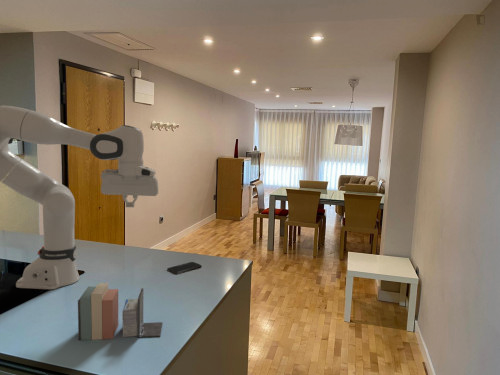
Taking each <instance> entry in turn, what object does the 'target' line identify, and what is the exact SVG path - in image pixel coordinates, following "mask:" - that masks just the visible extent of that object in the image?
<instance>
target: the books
mask: <svg viewBox="0 0 500 375" xmlns="http://www.w3.org/2000/svg"><path fill="white" fill-rule="evenodd" d="M79 299H80V317H81V340H80V341H93V340H94V341H96V340H113V339H114V337H115V334H116V332H117V329H118V327H119V288H110V289H109V283H108V282H106V283H105V282H104V283H103V282H101V283H99V282H98V283H97V284H96V286H95V285H94V286H87V287H86V289H85V290H84V291H83V293H82V295H81V296H80V297H79Z"/></svg>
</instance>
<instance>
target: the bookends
mask: <svg viewBox="0 0 500 375" xmlns="http://www.w3.org/2000/svg"><path fill="white" fill-rule="evenodd" d="M137 299H138V336H137V338H158V337H159V338H160V337H161V334H162V328H163V322H162V321H161V322H160V321H159V322H157V321H156V322H144V288H141V289H140V292H139V295H138V297H137ZM77 322H78V324H77V327H78V328H77V332H78V341H82V340H81V317H80V298H79V299H78V300H77Z"/></svg>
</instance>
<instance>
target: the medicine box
mask: <svg viewBox="0 0 500 375" xmlns="http://www.w3.org/2000/svg"><path fill="white" fill-rule="evenodd" d="M121 312H122V314H121V316H122V337H123V338H129V337H138V298H128V299H125V301H124V306H123V309H122V311H121Z"/></svg>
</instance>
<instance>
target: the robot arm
mask: <svg viewBox="0 0 500 375" xmlns="http://www.w3.org/2000/svg"><path fill="white" fill-rule="evenodd" d="M15 139H16V140H19V141H22V142H25V143H26V142H27V143H31V144H36V145H47V146H50V145H69V146H74V147H78V148H81V149H85V150H88V151H89V150H90V152H91V154H92V155H93V156H94V157H95V158H96V159H99V160H102V161H115V160H117V162H118V163H117V168H116V169H113V168H112V169H110V168H109V169H108V168H106V169H104V170H102V171H101V173H100V179H101V185H100V192H101V194H102V195H111V196H112V195H115V196H117V195H118V196H122V200H123V202H124V203H125V208H135V202H136V201H137V199H138V198H139V196H141V197H143V196H144V197H156V196H157V195H158V194H159V183H158V178H157V177H156V176H155V175H156V170H155V169H154V168H153V169H152V168H149V167H147V166H145V165H144V159H143V154H144V149H145V147H144V146H145V144H144V135H143V132H142V130H141V129H140V128H138V127H135V126H131V125H126V124H121V125H120V126H119V127H117V128H115V129H113V130H110V131H106V132H103V133H99V134H94V133H91V132H87V131H84V130H80V129H77V128H73V127H71V126H69V125H66V124H64V123H63V122H61V121H59V120H57V119H55V118H53V117H51V116H48V115H46V114H44V113H42V112H39V111H36V110H32V109H28V108H25V107H24V108H23V107H19V106H13V105H3V104H2V105H0V182H1V183H2V184H4V186H7V187H8V188H10V189H12V190H14V191H15V192H16V193H18V194H19V195H22V196H25V197H27V198H28V199H30V200H32V201H34V202H36V203H38V204H40V205H42V220H43V221H42V226H43V246H41V248H40V249H39V250H38V251H37V255H38V256H39V257H37V258H36V259H35V260H33V261H31V263H30V264H28V265H27V266H26V267H25V268H24V269H23V273H22V277H20V278H19V279H18V280H17V281H16V282H15V287H16V288H19V289H36V290H37V289H38V290H56V289H59V288H61V287H64V286H70V285H72V284H74V283H76V282H78V281H79V280H80V279H81V278H80V274H79V272H78V267H77V262H76V261H77V260H76V259H77V246H76V244H75V223H76V222H75V221H76V220H75V218H76V216H75V215H76V199H75V197H74V194H73V193H72V191H71V190H70V189H69V187H68V186H66V185H64V184H62V183H61V182H59V181H58V180H56V179H54V177H51V176H49V175H47V174H46V173H44V172H43V171H41V170H39V169H38V168H36V167H35V166H34V165H32V164H30V163H29V162H27V161H26V160H25V159H22V158H21V157H20V156H18V155H16V154H15V153H14V152H12V151H11V150H10V148H9V145H10V144H12V143H13V141H14V140H15ZM128 196H132V199H133V200H132V201H128V199H127V198H128Z"/></svg>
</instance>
